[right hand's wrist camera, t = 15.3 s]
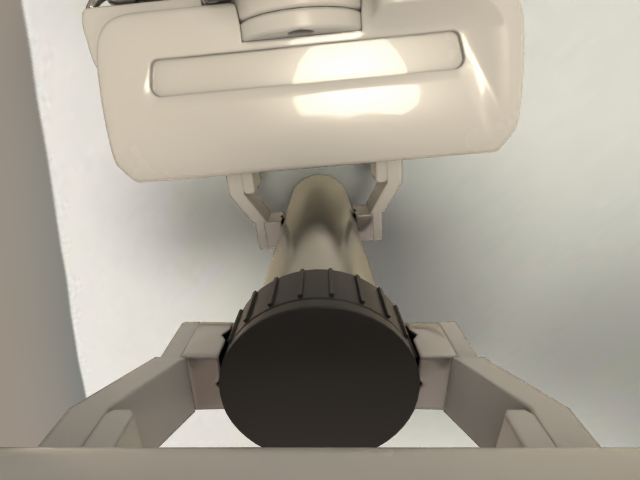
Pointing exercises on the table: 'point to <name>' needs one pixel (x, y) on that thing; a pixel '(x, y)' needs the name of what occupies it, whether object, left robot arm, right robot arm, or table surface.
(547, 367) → the table surface
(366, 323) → the lid
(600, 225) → the table surface
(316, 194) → the metal thermos flask
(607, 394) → the table surface
